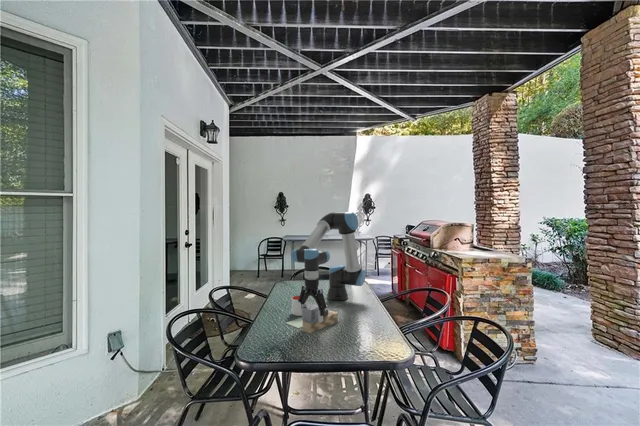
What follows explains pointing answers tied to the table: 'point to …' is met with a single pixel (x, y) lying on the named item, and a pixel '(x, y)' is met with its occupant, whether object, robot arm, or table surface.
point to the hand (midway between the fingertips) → (312, 318)
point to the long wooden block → (327, 321)
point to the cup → (297, 306)
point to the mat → (296, 323)
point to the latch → (325, 312)
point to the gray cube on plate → (310, 313)
